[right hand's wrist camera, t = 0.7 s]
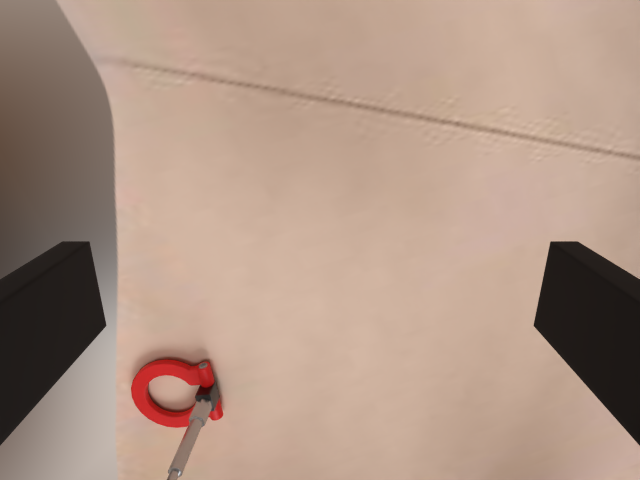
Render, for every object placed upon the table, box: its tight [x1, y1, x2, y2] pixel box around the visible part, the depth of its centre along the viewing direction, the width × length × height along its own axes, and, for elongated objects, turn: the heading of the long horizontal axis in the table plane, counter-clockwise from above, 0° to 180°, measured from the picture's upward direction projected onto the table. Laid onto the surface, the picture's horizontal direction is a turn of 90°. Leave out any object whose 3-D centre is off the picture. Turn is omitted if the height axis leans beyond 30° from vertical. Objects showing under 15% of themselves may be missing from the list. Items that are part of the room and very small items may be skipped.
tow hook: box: [131, 359, 223, 480], centre depth 40 cm, size 8×13×9 cm
